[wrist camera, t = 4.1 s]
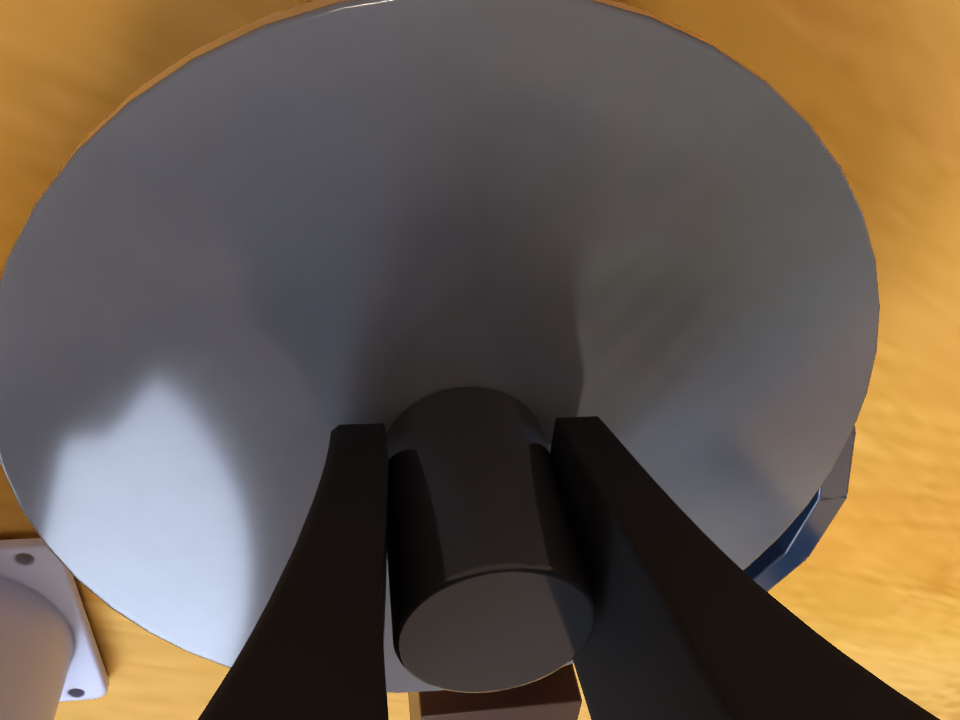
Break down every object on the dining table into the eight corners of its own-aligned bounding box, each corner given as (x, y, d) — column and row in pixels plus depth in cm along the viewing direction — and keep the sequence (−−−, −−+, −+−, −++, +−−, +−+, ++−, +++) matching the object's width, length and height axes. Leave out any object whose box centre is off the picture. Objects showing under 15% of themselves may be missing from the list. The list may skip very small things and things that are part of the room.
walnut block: (405, 666, 31) (416, 799, 27) (408, 581, 28) (420, 716, 24) (533, 655, 32) (561, 783, 28) (548, 571, 29) (583, 701, 25)
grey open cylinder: (421, 553, 27) (437, 702, 23) (315, 263, 20) (309, 398, 16) (755, 473, 27) (833, 606, 23) (765, 155, 20) (880, 260, 16)
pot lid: (215, 701, 17) (183, 945, 13) (-216, 108, 9) (-559, 323, 5) (813, 559, 17) (936, 766, 13) (893, -150, 9) (1238, -96, 6)
